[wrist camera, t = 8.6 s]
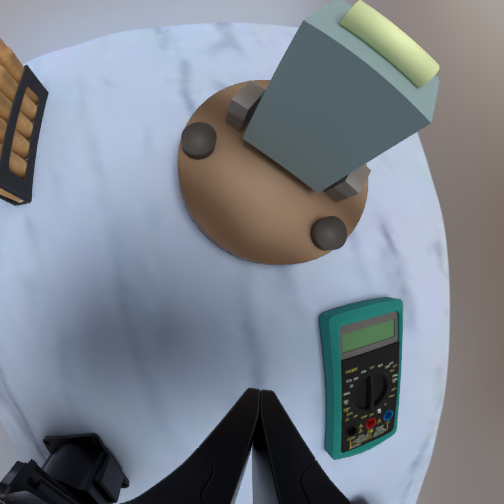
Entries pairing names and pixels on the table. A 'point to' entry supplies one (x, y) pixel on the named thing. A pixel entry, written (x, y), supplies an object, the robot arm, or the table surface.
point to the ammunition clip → (18, 126)
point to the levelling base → (259, 188)
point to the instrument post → (343, 94)
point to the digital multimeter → (361, 374)
